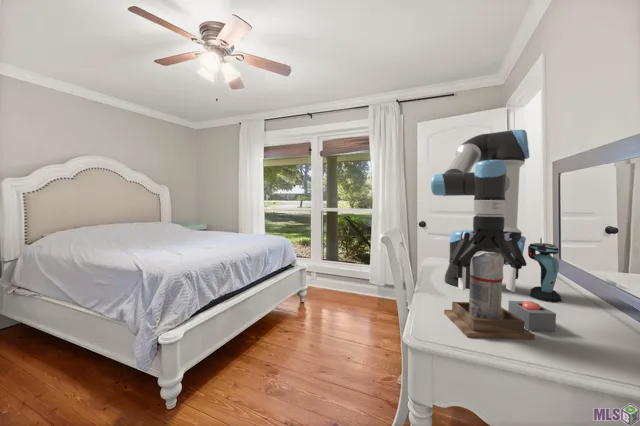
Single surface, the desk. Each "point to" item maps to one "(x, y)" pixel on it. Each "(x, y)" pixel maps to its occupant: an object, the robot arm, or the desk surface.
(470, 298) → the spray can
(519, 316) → the control box
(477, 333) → the walnut tray
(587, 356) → the desk surface
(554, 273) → the teal power drill
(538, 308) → the button
